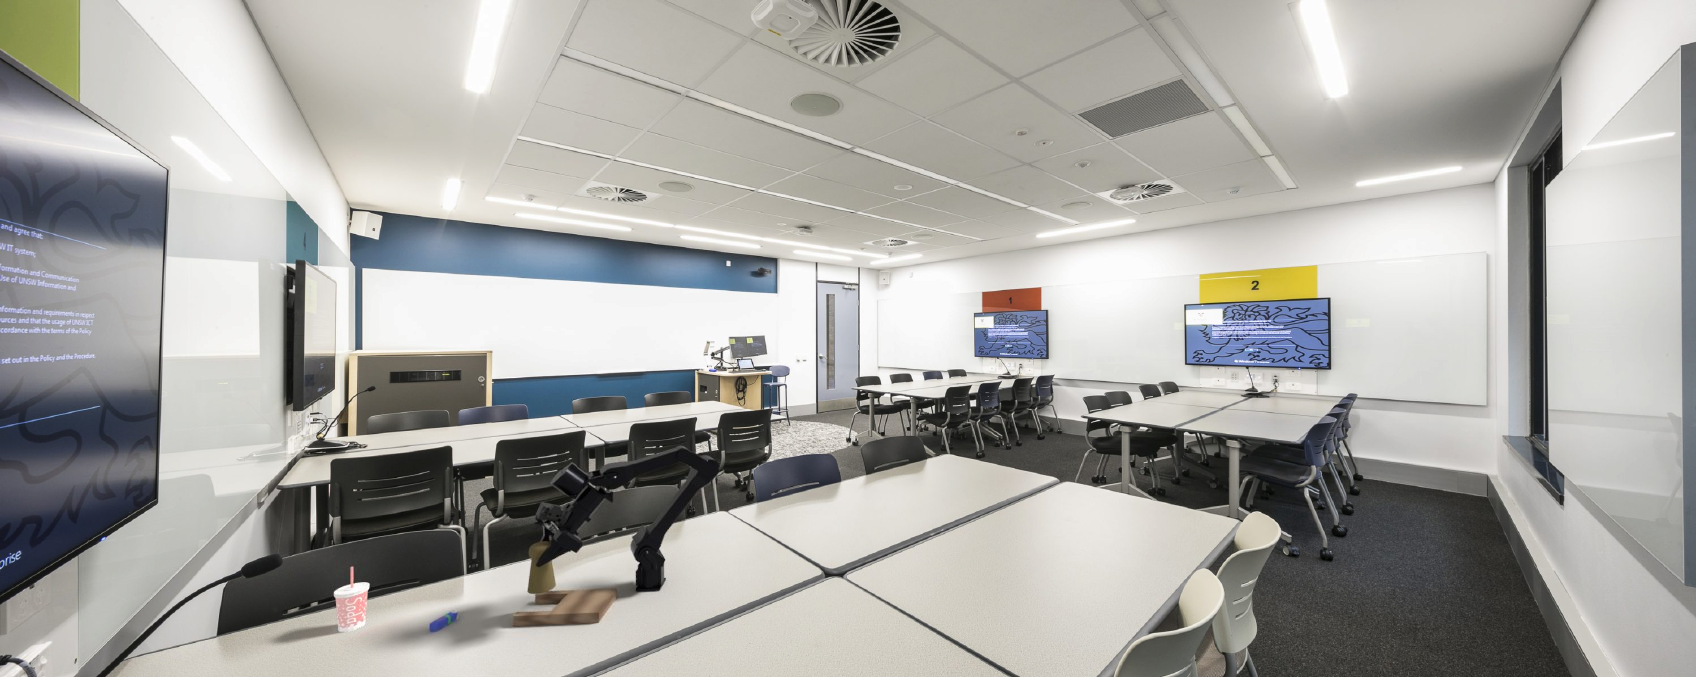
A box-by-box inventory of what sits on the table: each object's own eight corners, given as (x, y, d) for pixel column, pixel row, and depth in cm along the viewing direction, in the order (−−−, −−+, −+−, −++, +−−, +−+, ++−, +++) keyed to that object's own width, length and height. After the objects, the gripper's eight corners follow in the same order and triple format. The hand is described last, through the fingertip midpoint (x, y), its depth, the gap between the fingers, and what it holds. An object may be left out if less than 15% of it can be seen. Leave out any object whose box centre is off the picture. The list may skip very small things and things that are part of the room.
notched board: (616, 597, 137) (616, 588, 137) (598, 622, 125) (598, 612, 125) (538, 600, 135) (538, 591, 135) (512, 626, 123) (512, 615, 123)
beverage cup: (329, 636, 119) (328, 574, 119) (339, 623, 124) (339, 564, 124) (364, 629, 122) (364, 569, 121) (373, 616, 127) (373, 559, 127)
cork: (561, 583, 130) (560, 539, 130) (540, 595, 125) (539, 549, 124) (543, 580, 132) (542, 537, 132) (521, 591, 126) (520, 546, 126)
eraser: (459, 618, 127) (459, 610, 127) (436, 632, 121) (436, 623, 121) (452, 618, 127) (452, 609, 127) (428, 631, 121) (428, 623, 121)
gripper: (550, 481, 138) (501, 534, 131) (566, 498, 123) (512, 558, 117) (583, 504, 143) (538, 556, 136) (602, 523, 129) (553, 582, 122)
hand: (534, 562), depth 127 cm, fingers closed on cork, 5 cm apart
